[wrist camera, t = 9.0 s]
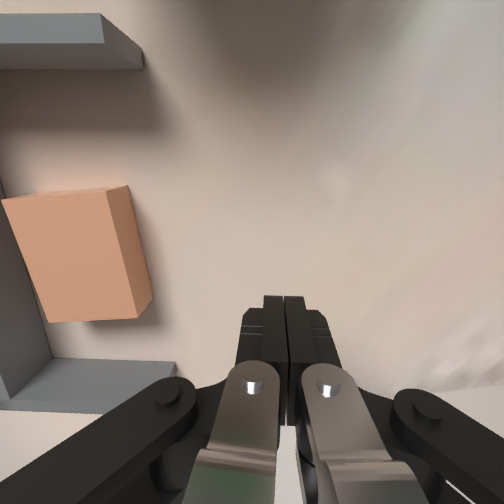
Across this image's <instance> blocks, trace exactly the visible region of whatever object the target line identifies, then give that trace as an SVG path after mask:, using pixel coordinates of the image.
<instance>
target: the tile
mask: <svg viewBox="0 0 504 504" xmlns="http://www.w3.org/2000/svg"><path fill="white" fill-rule="evenodd" d="M1 201H2V204H3V207H4V209H5V212H6V214H7V217H8V219H9V222H10V225H11V227H12V230H13V232H14V235H15V237H16V240H17V243H18V245H19V248H20V250H21V253H22V255H23V258H24V261H25V263H26V266H27V268H28V271H29V273H30V276H31V279H32V281H33V284H34V286H35V289H36V291H37V294H38V297H39V299H40V302H41V304H42V307H43V309H44V312H45V315H46V317H47V320H48V322H49V323H55V322H74V321H92V320H111V319H130V318H139V316H140V315H141V314H142V312H143V311H144V310H145V308H146V307H147V306H148V304H149V303H150V302H151V300H152V299H153V298H154V297H153V292H152V288H151V284H150V279H149V275H148V271H147V267H146V262H145V258H144V254H143V249H142V245H141V241H140V236H139V232H138V228H137V223H136V219H135V215H134V210H133V206H132V202H131V197H130V193H129V189H128V185H127V186H115V187H103V188H91V189H79V190H67V191H55V192H43V193H35V194H29V195H24V196H18V197H13V198H8V199H2V200H1Z"/></svg>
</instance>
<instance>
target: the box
mask: <svg viewBox="0 0 504 504" xmlns="http://www.w3.org/2000/svg"><path fill="white" fill-rule="evenodd" d="M0 70H144V69H143V60H142V50H141V47H140V46H138V45H137V44H136V43H135V42H134V41H132V40H131V39H130V38H129V37H128V36H126V35H125V34H124V33H123V32H122V31H121V30H119V29H118V28H117V27H116V26H115V25H113V24H112V23H111V22H110V21H109V20H107V19H106V18H105V17H104V16H103V15H102V14H100V13H67V14H0ZM2 199H5V195H4V192H3V189H2V185H1V182H0V410H10V411H11V410H12V411H35V412H60V413H61V412H62V413H84V414H106V413H107V412H109V411H111V410H112V409H114V408H115V407H117V406H118V405H120V404H121V403H123V402H124V401H126V400H128V399H129V398H131V397H132V396H134V395H135V394H137V393H138V392H140V391H141V390H143V389H144V388H146V387H148V386H149V385H151V384H152V383H154V382H156V381H158V380H160V379H163V378H166V377H174V376H175V374H176V366H175V362H158V361H128V360H99V359H70V358H52V355H51V351H50V348H49V344H48V341H47V338H46V334H45V331H44V327H43V324H42V321H41V317H40V314H39V311H38V307H37V304H36V300H35V297H34V294H33V290H32V287H31V283H30V280H29V277H28V273H27V270H26V267H25V263H24V260H23V256H22V253H21V250H20V248H19V245H18V243H17V240H16V237H15V235H14V232H13V230H12V227H11V225H10V222H9V219H8V217H7V214H6V212H5V209H4V207H3V204H2V201H1V200H2Z"/></svg>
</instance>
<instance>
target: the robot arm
mask: <svg viewBox="0 0 504 504" xmlns="http://www.w3.org/2000/svg"><path fill="white" fill-rule="evenodd" d="M285 414H286V416H287V426H295V427H296V438H297V440H296V460H297V467H298V473H299V480H300V486H301V492H302V499H303V504H471V503H470V502H469V501H468V500H467V499H465V498H464V497H463V496H462V495H461V494H459V493H458V492H457V491H456V490H455V489H453V488H452V487H451V486H450V485H449V484H447V483H446V480H448V481H449V482H450V483H451V484H453V485H454V486H455V487H456V488H457V489H459V490H460V491H461V492H462V493H464V494H465V495H466V496H467V497H468V498H469V499H471V500H472V501H473V502H474V503H476V504H504V438H502V437H500V436H499V435H497V434H496V433H494V432H493V431H491V430H489V429H488V428H486V427H485V426H483V425H482V424H480V423H478V422H477V421H475V420H474V419H472V418H471V417H469V416H467V415H466V414H464V413H463V412H461V411H460V410H458V409H456V408H455V407H453V406H452V405H450V404H449V403H447V402H445V401H444V400H442V399H441V398H439V397H437V396H435V395H433V394H431V393H429V392H426V391H423V390H419V389H404V390H401V391H399V392H398V393H397V394H396V395H395V397H394V400H392V399H388V398H385V397H382V396H379V395H375V394H372V393H369V392H367V391H365V390H363V389H361V388H359V387H358V386H357V385H356V383H355V381H354V379H353V378H352V377H351V375H350V374H348V373H347V372H346V371H345V370H343V369H342V366H341V363H340V360H339V357H338V354H337V351H336V348H335V345H334V341H333V338H332V335H331V332H330V330H329V326H328V323H327V320H326V318H325V317H324V316H323V315H322V314H321V313H320V312H319V311H318V310H306V306H305V302H304V297H303V296H284V301H283V296H268V295H264V305H263V308H249V309H248V310H247V312H246V313H245V314H244V315H243V319H242V326H241V331H240V337H239V343H238V350H237V356H236V362H235V366H234V367H233V368H232V369H231V371H230V372H229V374H228V376H227V378H226V379H225V380H223V381H221V382H220V383H217V384H215V385H212V386H208V387H204V388H199V389H195V387H194V385H193V384H192V383H191V382H190V381H189V380H188V379H185V378H182V377H166V378H163V379H160V380H158V381H156V382H154V383H152V384H151V385H149V386H148V387H146V388H144V389H143V390H141V391H140V392H138V393H137V394H135V395H134V396H132V397H131V398H129V399H128V400H126V401H124V402H123V403H121V404H120V405H118V406H117V407H115V408H114V409H112V410H111V411H109V412H107V413H106V414H104V415H103V416H101V417H100V418H98V419H97V420H95V421H94V422H92V423H91V424H89V425H88V426H86V427H84V428H83V429H81V430H80V431H78V432H77V433H75V434H74V435H72V436H71V437H69V438H67V439H66V440H64V441H63V442H61V443H60V444H58V445H57V446H55V447H54V448H52V449H51V450H49V451H47V452H46V453H45V454H43V455H41V456H40V457H38V458H37V459H35V460H34V461H32V462H31V463H29V464H28V465H26V466H25V467H23V468H21V469H20V470H18V471H17V472H15V473H14V474H12V475H11V476H9V477H7V478H6V479H4V480H3V481H1V482H0V504H274V496H275V476H276V455H277V450H278V448H279V442H280V425H284V426H285Z"/></svg>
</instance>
